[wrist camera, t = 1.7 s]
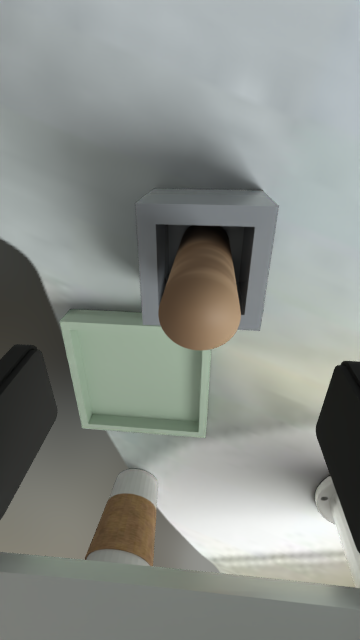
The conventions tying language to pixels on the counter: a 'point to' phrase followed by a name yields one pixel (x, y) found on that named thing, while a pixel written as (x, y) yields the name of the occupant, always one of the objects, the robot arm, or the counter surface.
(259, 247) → the square cup
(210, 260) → the walnut dowel
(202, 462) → the counter surface
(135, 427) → the sage tray
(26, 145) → the counter surface
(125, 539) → the coffee cup
